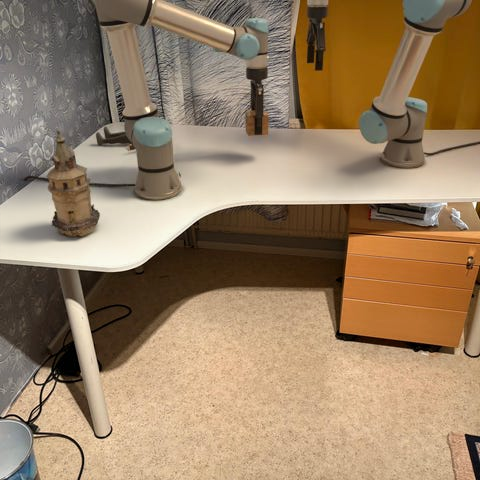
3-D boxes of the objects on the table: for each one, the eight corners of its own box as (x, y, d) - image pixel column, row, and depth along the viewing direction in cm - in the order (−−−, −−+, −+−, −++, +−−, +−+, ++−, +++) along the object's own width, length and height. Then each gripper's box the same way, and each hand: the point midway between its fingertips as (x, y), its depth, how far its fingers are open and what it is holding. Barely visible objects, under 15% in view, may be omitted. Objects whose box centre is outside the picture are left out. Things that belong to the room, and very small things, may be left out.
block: (268, 135, 194) (268, 115, 191) (248, 136, 194) (247, 116, 190) (265, 129, 200) (265, 110, 196) (245, 130, 199) (245, 111, 196)
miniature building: (80, 214, 164) (63, 117, 149) (111, 225, 157) (96, 125, 142) (44, 231, 154) (22, 130, 140) (75, 244, 147) (55, 139, 133)
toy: (112, 120, 230) (179, 120, 224) (115, 134, 233) (181, 134, 227) (86, 139, 208) (158, 140, 202) (89, 155, 211) (161, 156, 205)
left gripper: (272, 72, 177) (271, 139, 189) (262, 60, 194) (262, 122, 205) (250, 73, 176) (250, 140, 188) (242, 61, 193) (242, 123, 205)
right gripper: (337, 9, 182) (332, 73, 193) (319, 2, 204) (316, 59, 214) (315, 10, 182) (312, 74, 192) (300, 2, 203) (298, 60, 214)
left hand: (256, 131), depth 197 cm, fingers closed on block, 7 cm apart
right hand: (314, 66), depth 203 cm, fingers open, 13 cm apart
